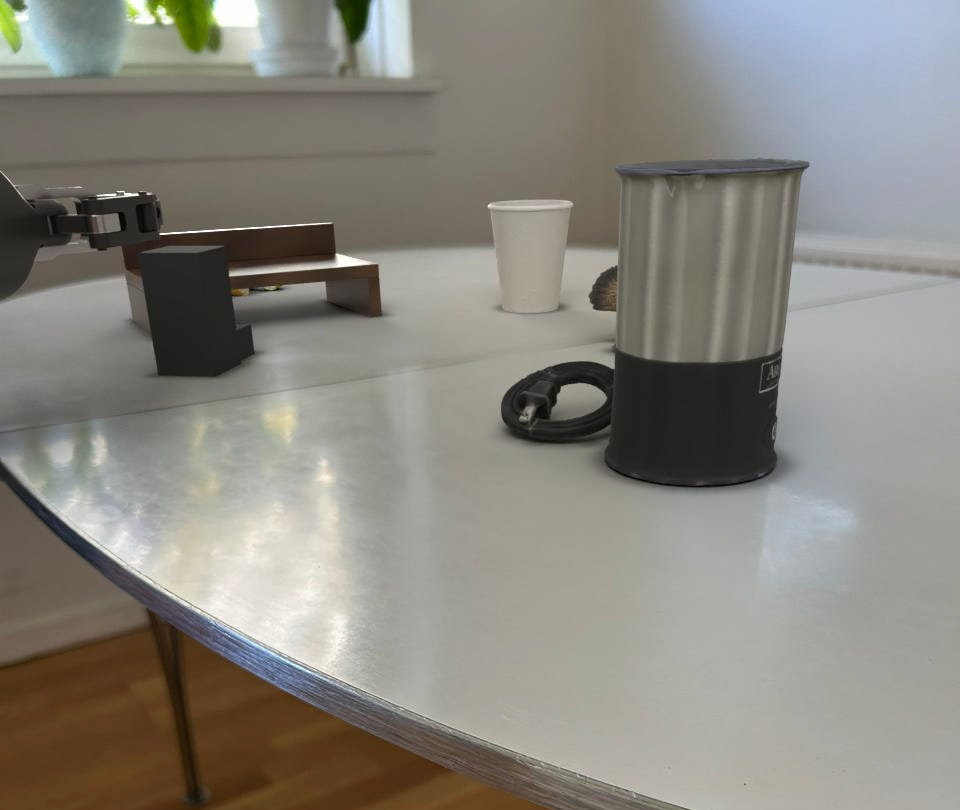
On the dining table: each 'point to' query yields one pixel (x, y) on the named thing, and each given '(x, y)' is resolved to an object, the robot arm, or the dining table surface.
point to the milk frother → (687, 325)
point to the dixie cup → (530, 252)
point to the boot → (192, 311)
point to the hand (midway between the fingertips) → (92, 212)
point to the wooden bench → (271, 264)
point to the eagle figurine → (605, 292)
